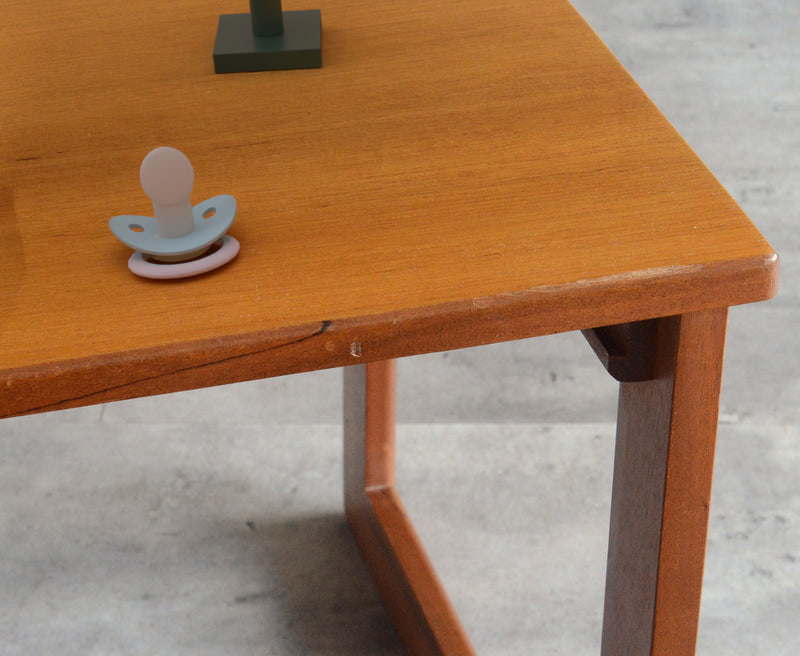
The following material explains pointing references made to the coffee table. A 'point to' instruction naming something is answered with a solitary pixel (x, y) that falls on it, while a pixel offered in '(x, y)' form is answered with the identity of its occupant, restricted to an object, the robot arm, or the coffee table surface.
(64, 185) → the coffee table surface
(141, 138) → the coffee table surface
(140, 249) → the pacifier
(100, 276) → the coffee table surface
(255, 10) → the stand
